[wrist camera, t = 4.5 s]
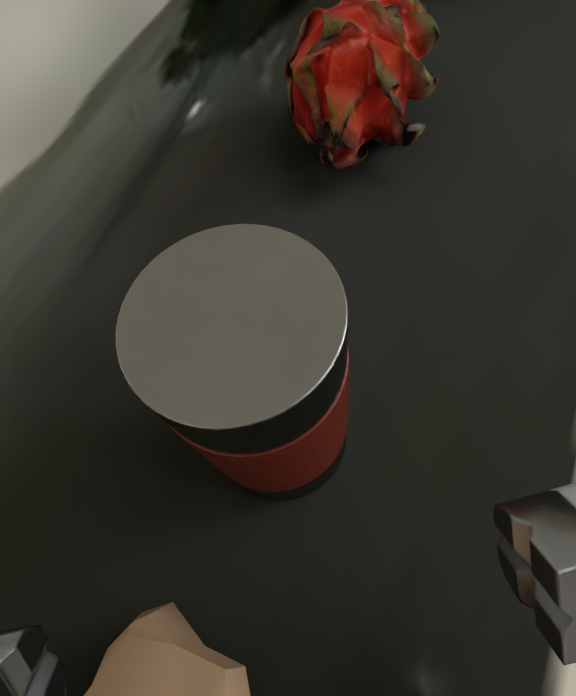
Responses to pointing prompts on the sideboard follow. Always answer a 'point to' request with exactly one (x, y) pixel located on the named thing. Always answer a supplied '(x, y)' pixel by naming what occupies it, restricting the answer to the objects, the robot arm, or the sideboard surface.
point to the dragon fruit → (359, 75)
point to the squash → (166, 661)
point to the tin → (244, 354)
